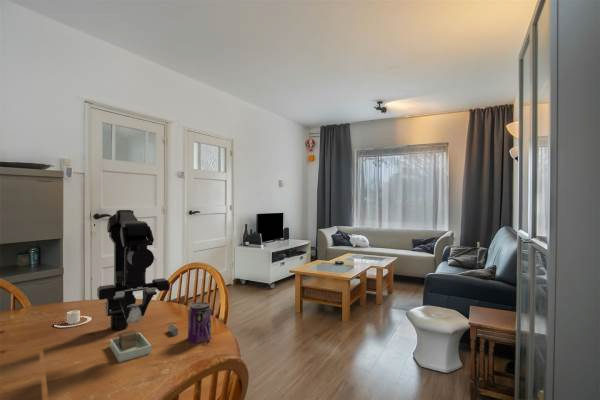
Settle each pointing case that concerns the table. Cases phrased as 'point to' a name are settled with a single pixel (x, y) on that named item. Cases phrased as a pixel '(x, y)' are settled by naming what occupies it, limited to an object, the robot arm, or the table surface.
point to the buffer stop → (173, 330)
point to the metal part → (134, 313)
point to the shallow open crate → (139, 350)
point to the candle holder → (74, 318)
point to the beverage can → (199, 322)
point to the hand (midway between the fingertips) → (134, 317)
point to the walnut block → (127, 339)
